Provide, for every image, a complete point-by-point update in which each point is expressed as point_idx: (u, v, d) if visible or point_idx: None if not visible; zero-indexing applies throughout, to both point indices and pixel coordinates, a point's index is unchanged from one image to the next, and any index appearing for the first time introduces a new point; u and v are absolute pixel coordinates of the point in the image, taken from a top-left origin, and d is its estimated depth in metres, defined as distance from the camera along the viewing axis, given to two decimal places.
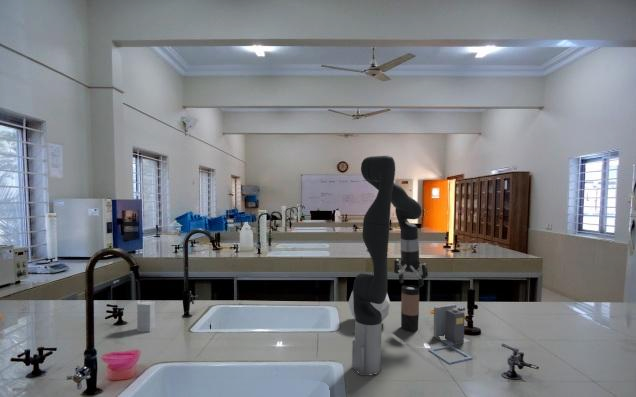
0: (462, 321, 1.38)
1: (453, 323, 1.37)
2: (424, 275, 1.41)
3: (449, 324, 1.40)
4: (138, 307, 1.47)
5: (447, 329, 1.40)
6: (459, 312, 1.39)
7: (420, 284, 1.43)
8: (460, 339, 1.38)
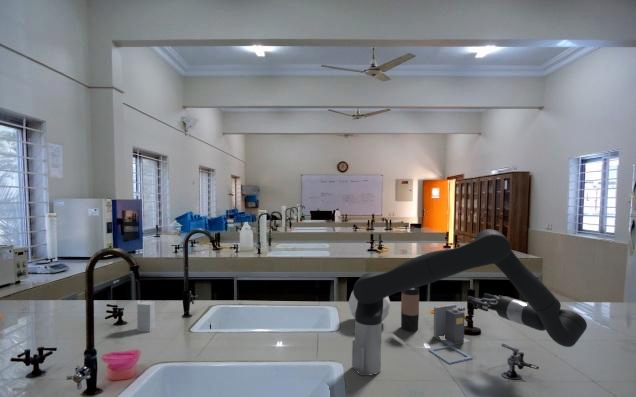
0: (462, 321, 1.38)
1: (453, 323, 1.37)
2: (476, 300, 1.22)
3: (449, 324, 1.40)
4: (138, 307, 1.47)
5: (447, 329, 1.40)
6: (459, 312, 1.39)
7: (470, 297, 1.27)
8: (460, 339, 1.38)
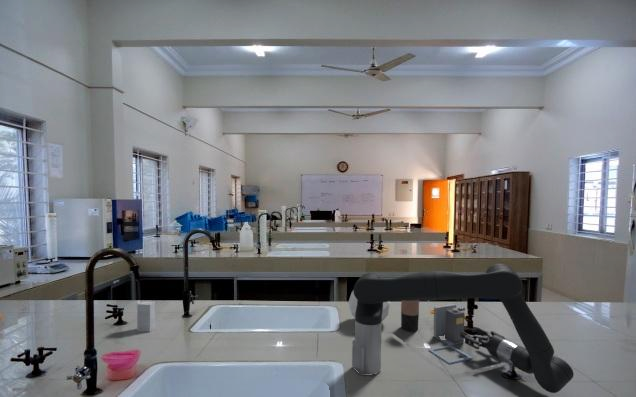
0: (462, 321, 1.38)
1: (453, 323, 1.37)
2: (467, 337, 1.25)
3: (449, 324, 1.40)
4: (138, 307, 1.47)
5: (447, 329, 1.40)
6: (459, 312, 1.39)
7: (462, 332, 1.30)
8: (460, 339, 1.38)
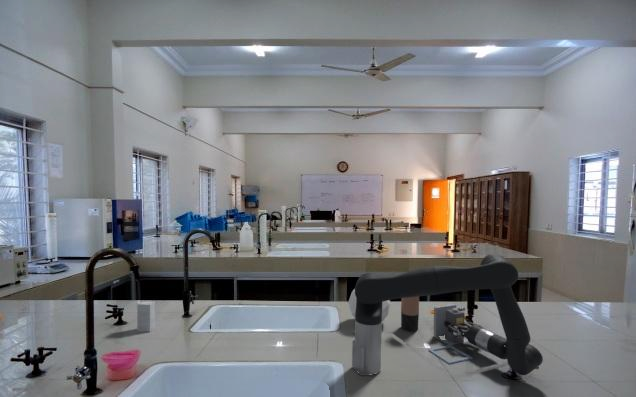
0: (462, 321, 1.38)
1: (453, 323, 1.37)
2: (450, 326, 1.35)
3: None
4: (138, 307, 1.47)
5: (447, 329, 1.40)
6: (459, 312, 1.39)
7: (446, 322, 1.40)
8: (460, 339, 1.38)
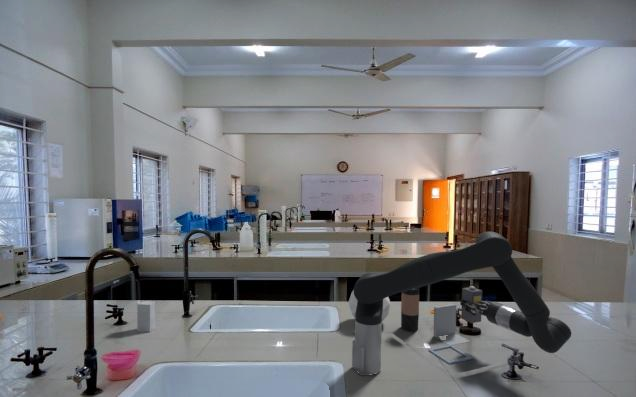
0: (480, 300, 1.30)
1: (471, 301, 1.29)
2: (468, 304, 1.27)
3: None
4: (138, 307, 1.47)
5: (463, 308, 1.32)
6: (476, 290, 1.31)
7: (463, 301, 1.32)
8: (478, 318, 1.30)
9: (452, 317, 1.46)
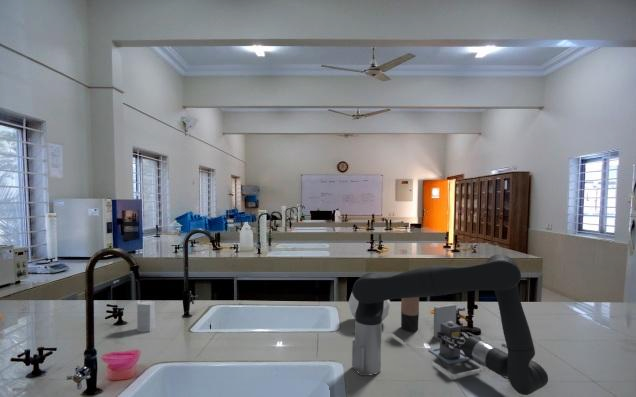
0: (458, 336, 1.26)
1: None
2: (444, 338, 1.22)
3: None
4: (138, 307, 1.47)
5: None
6: (455, 326, 1.26)
7: (440, 333, 1.27)
8: (456, 355, 1.26)
9: (452, 317, 1.46)
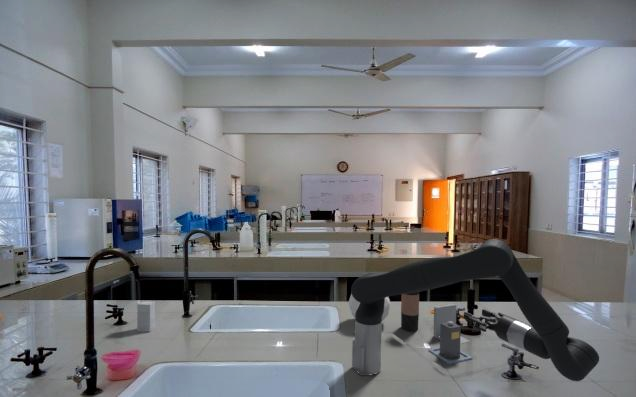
0: (458, 336, 1.26)
1: (448, 337, 1.25)
2: (473, 318, 1.10)
3: (443, 338, 1.27)
4: (138, 307, 1.47)
5: (442, 344, 1.28)
6: (455, 326, 1.26)
7: (466, 313, 1.15)
8: (456, 355, 1.26)
9: (452, 317, 1.46)
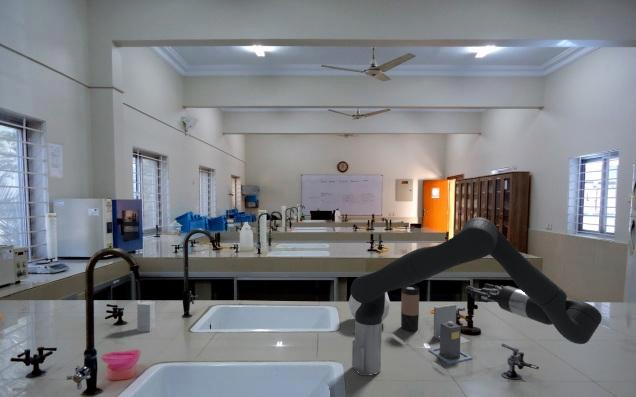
0: (458, 336, 1.26)
1: (448, 337, 1.25)
2: (474, 290, 1.09)
3: (443, 338, 1.27)
4: (138, 307, 1.47)
5: (442, 344, 1.28)
6: (455, 326, 1.26)
7: (468, 287, 1.14)
8: (456, 355, 1.26)
9: (452, 317, 1.46)
